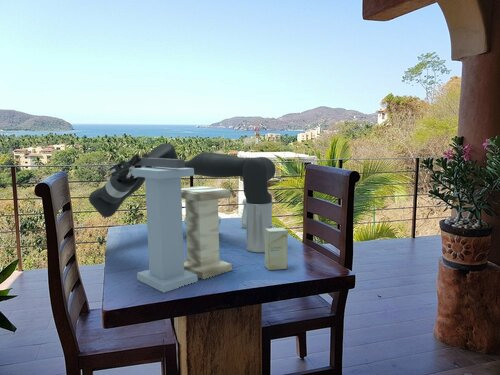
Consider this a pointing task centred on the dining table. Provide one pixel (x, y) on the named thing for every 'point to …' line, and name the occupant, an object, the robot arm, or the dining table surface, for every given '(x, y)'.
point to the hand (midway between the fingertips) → (142, 156)
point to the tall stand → (164, 228)
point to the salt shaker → (244, 215)
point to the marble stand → (203, 230)
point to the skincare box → (276, 248)
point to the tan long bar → (161, 162)
